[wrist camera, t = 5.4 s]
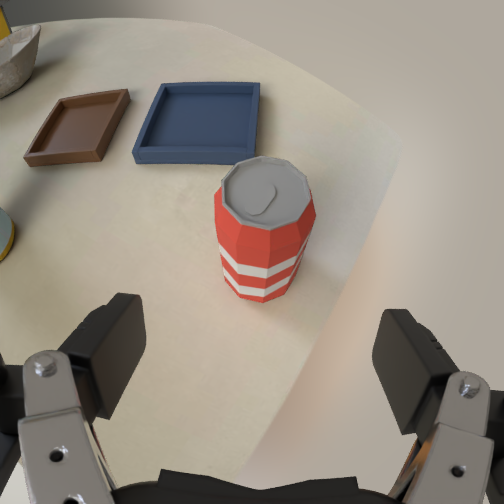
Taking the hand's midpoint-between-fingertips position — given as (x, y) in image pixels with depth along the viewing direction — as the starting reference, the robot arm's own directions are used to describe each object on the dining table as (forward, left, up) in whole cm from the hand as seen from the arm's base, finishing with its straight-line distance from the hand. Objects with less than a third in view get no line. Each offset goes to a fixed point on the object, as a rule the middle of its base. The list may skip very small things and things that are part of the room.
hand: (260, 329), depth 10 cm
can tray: (+8, -28, -16) cm, 33 cm away
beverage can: (0, -9, -17) cm, 19 cm away
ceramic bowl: (+55, -47, -17) cm, 74 cm away
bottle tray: (+26, -28, -16) cm, 42 cm away
